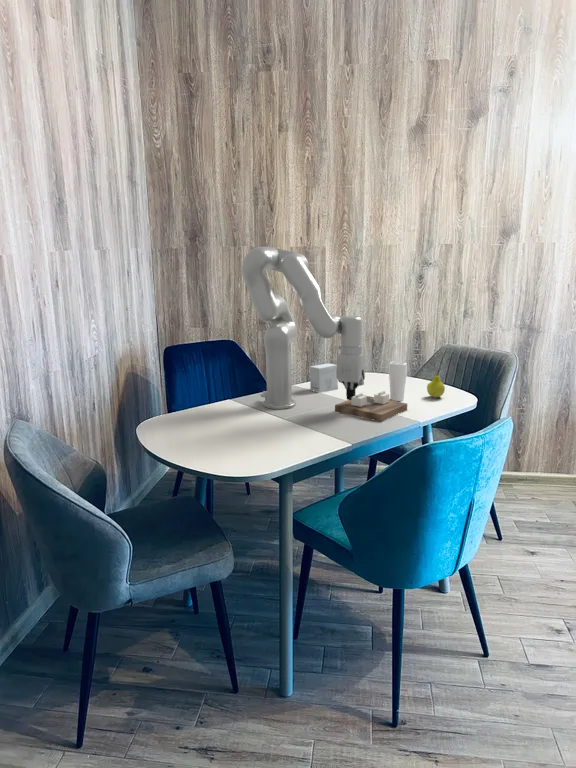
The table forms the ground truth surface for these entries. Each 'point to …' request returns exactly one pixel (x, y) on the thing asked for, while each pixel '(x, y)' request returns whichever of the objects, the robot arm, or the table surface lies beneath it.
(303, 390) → the table surface
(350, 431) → the table surface
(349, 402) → the switch board
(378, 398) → the tab
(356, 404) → the front tab
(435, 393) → the fruit
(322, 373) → the skincare box
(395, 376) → the drinking glass
